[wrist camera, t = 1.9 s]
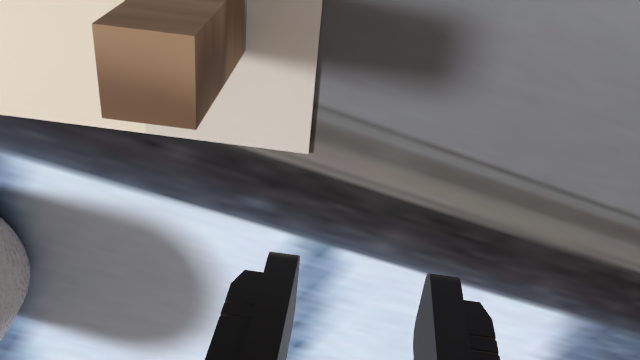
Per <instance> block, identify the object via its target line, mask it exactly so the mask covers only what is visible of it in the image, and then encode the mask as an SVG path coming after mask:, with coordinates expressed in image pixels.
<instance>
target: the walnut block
mask: <svg viewBox="0 0 640 360" xmlns="http://www.w3.org/2000/svg"><path fill="white" fill-rule="evenodd" d="M246 18H247V0H125V1H124V2H122V3H121V4H119V5H118V6H116V7H115V8H114V9H112V10H111V11H109V12H108V13H106V14H105V15H103V16H102V17H101V18H99V19H98V20H96V21H95V22H93V23H92V31H93V40H94V50H95V59H96V68H97V77H98V87H99V96H100V105H101V115H102V118H106V119H114V120H121V121H129V122H137V123H145V124H153V125H161V126H169V127H176V128H184V129H192V130H197V128H198V126H199V125H200V123H201V122H202V120H203V118H204V117H205V115H206V113H207V112H208V110H209V109H210V107H211V105H212V104H213V102H214V101H215V99H216V97H217V96H218V94H219V93H220V91H221V89H222V88H223V86H224V85H225V83H226V81H227V80H228V78H229V77H230V75H231V73H232V72H233V70H234V68H235V67H236V65H237V64H238V62H239V60H240V59H241V57H242V56H243V54H244V52H245V51H246Z"/></svg>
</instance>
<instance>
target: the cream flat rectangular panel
mask: <svg viewBox="0 0 640 360" xmlns="http://www.w3.org/2000/svg"><path fill="white" fill-rule="evenodd" d="M124 1H125V0H0V115H7V116H15V117H23V118H31V119H39V120H47V121H54V122H62V123H70V124H78V125H86V126H93V127H101V128H109V129H117V130H125V131H132V132H140V133H148V134H156V135H164V136H171V137H179V138H187V139H195V140H203V141H211V142H218V143H226V144H234V145H242V146H250V147H257V148H265V149H273V150H281V151H289V152H296V153H304V154H308V153H309V144H310V133H311V122H312V111H313V100H314V90H315V79H316V68H317V57H318V46H319V35H320V24H321V13H322V2H323V0H247V18H246V51H245V52H244V54H243V56H242V57H241V59H240V60H239V62H238V64H237V65H236V67H235V68H234V70H233V72H232V73H231V75H230V77H229V78H228V80H227V81H226V83H225V85H224V86H223V88H222V89H221V91H220V93H219V94H218V96H217V97H216V99H215V101H214V102H213V104H212V105H211V107H210V109H209V110H208V112H207V113H206V115H205V117H204V118H203V120H202V122H201V123H200V125H199V126H198V128H197V130H192V129H184V128H176V127H169V126H161V125H153V124H145V123H137V122H129V121H121V120H114V119H106V118H102V115H101V105H100V96H99V87H98V77H97V68H96V59H95V50H94V40H93V31H92V23H93V22H95V21H96V20H98V19H99V18H101V17H102V16H103V15H105V14H106V13H108V12H109V11H111V10H112V9H114V8H115V7H116V6H118V5H119V4H121V3H122V2H124Z"/></svg>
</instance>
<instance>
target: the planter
mask: <svg viewBox="0 0 640 360" xmlns="http://www.w3.org/2000/svg"><path fill="white" fill-rule="evenodd" d="M29 283H30V264H29V260H28V256H27V253H26V251H25V248H24V246H23V244H22V242H21V241H20V239H19V238H18V236H17V235H16V233H15V232H14V231H13V229H12V228H11V227H10V226H9V225H8V224H7V223H6V222H5V221H4V220H3V219H2V218H1V217H0V341H1V339H2V338H3V336H4V335H5V333H6V332H7V330H8V329H9V327H10V325H11V324H12V322H13V320H14V319H15V317H16V315H17V313H18V311H19V309H20V308H21V306H22V304H23V302H24V299H25V297H26V294H27V291H28V288H29Z"/></svg>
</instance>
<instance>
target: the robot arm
mask: <svg viewBox="0 0 640 360" xmlns="http://www.w3.org/2000/svg"><path fill="white" fill-rule="evenodd" d="M299 261H300V256H298V255H290V254H283V253H275V252H270V253H269V255H268V258H267V262H266V266H265V269H264V273H263V272H255V271H248V270H244V271H243V272H242V273H241V274H240V275H239V276H238V277H237V278H236V279H235V280H234V281H233V282H232V283H231V285H230V288H229V291H228V294H227V297H226V300H225V303H224V306H223V308H222V311H221V316H220V317H219V320H218V323H217V326H216V329H215V332H214V335H213V338H212V341H211V344H210V346H209V349H208V352H207V355H206V358H205V360H286V357H287V352H288V347H289V342H290V337H291V331H292V326H293V320H294V313H295V304H296V294H297V283H298V272H299ZM495 338H496V337H495V332H494V327H493V322H492V319H491V317H490V316H489V315H488V313H487V312H486V310H485V309H484V308H483V306H482V305H481V303H480V302H473V301H466V300H463V294H462V288H461V281H460V278H458V277H451V276H444V275H436V274H429V273H428V274H427V276H426V279H425V283H424V288H423V292H422V296H421V300H420V305H419V309H418V313H417V317H416V322H415V328H414V339H413V352H414V360H500V357H499V356H498V347H497V342H496V341H495Z"/></svg>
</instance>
